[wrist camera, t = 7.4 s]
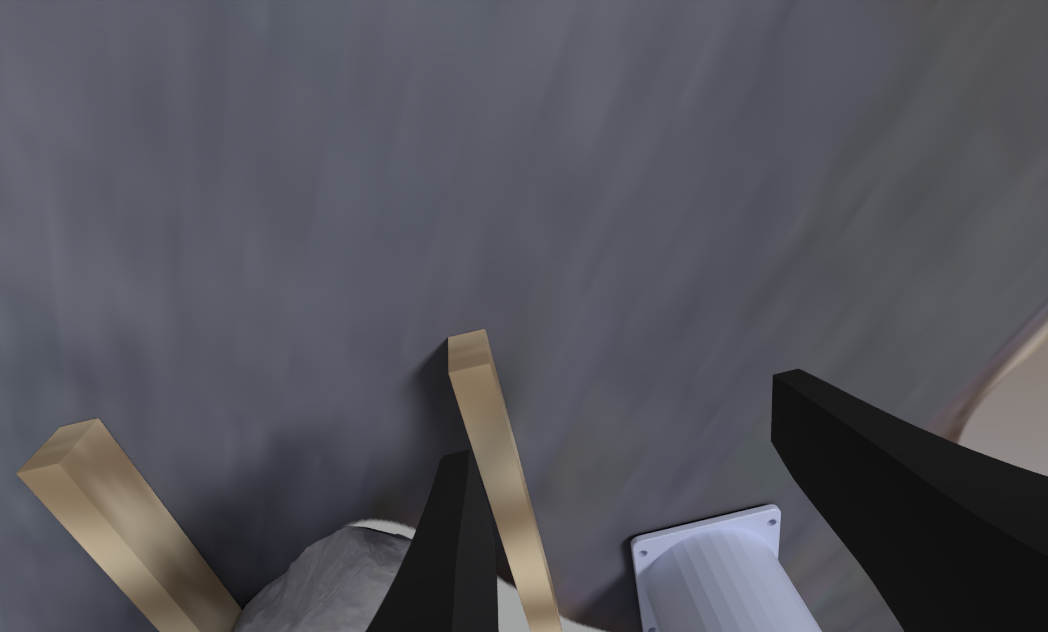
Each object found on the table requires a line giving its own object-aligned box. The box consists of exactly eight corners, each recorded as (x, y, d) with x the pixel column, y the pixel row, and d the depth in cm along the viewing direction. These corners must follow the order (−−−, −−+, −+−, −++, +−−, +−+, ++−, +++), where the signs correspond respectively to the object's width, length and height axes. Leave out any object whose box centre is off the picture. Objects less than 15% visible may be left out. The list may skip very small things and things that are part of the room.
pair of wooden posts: (553, 589, 30) (562, 633, 28) (249, 662, 29) (233, 713, 27) (485, 328, 22) (489, 363, 19) (60, 426, 21) (16, 473, 19)
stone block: (356, 478, 27) (220, 615, 27) (359, 549, 23) (198, 710, 23) (513, 571, 32) (397, 684, 33) (539, 642, 28) (405, 771, 29)
